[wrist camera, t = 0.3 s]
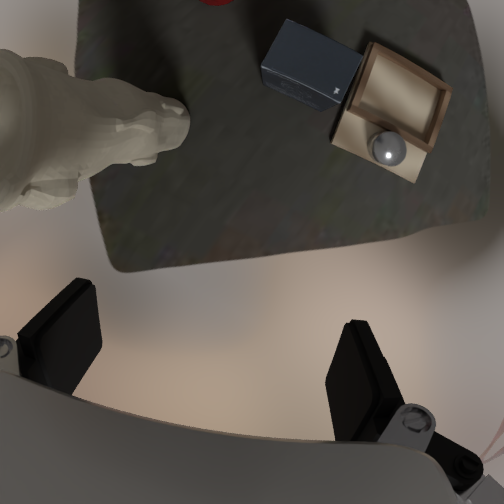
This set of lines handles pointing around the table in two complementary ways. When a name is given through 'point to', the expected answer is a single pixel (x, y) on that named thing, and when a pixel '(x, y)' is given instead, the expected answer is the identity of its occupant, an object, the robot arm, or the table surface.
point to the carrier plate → (392, 112)
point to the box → (309, 66)
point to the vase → (74, 129)
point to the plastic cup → (216, 2)
